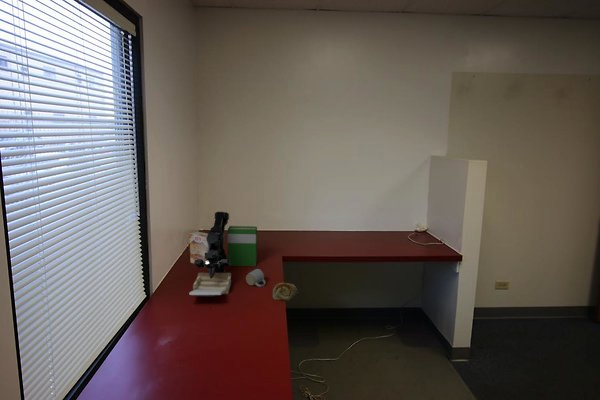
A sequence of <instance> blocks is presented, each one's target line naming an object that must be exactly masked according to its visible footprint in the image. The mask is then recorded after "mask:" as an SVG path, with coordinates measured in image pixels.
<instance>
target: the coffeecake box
mask: <svg viewBox="0 0 600 400" xmlns="http://www.w3.org/2000/svg"><path fill="white" fill-rule="evenodd" d="M207 236H208V233H206V232H201V231H194V232H191V233H189V254H190V256H189V257H190V259H189V260H190V263H191V264H194V261H195V260H199V259H202V260H203V261H208V260H206V259H205V253H208V251H209V245H208V242H207V240H206V238H207Z"/></svg>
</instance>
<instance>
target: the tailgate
mask: <svg viewBox="0 0 600 400" xmlns="http://www.w3.org/2000/svg"><path fill="white" fill-rule="evenodd" d="M224 291H225V290H193V289H192V290H191V291H190V292H189V293H188V294H189V295H190V296H195V297H215V296H221V295H223V294H222V293H224Z"/></svg>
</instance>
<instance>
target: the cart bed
mask: <svg viewBox="0 0 600 400" xmlns="http://www.w3.org/2000/svg"><path fill="white" fill-rule="evenodd" d="M231 286H232V273H231V272H227V273H215V274H214V276H213V278H212V279H211V278H210V275H209V272H198V273H197V277H196V279H195V281H194V283H193V284H192V291H193V290H225V291H224V293H222V294H221V295H229V293H230V289H231Z"/></svg>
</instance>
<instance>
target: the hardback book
mask: <svg viewBox="0 0 600 400" xmlns="http://www.w3.org/2000/svg"><path fill="white" fill-rule="evenodd" d="M227 258H228V259H229V260H230V261H231V266H230V267H232V266H235V267H236V266H238V267H241V266H242V267H245V266H246V267H247V266H248V267H256V266H257V263H258V226H248V225H247V226H245V225H244V226H242V225H229V226H228V228H227Z"/></svg>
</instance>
